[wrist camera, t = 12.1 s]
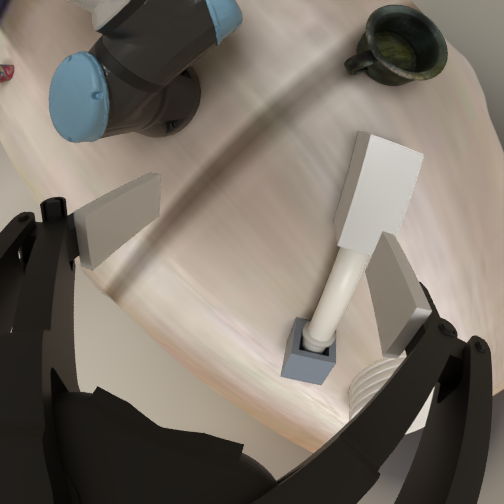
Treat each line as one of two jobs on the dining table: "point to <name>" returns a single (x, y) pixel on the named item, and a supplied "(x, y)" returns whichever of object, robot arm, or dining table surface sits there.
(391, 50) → the mug
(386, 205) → the sleeve
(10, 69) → the cup
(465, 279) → the dining table surface
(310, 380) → the socket
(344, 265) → the tube
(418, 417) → the plate stack
